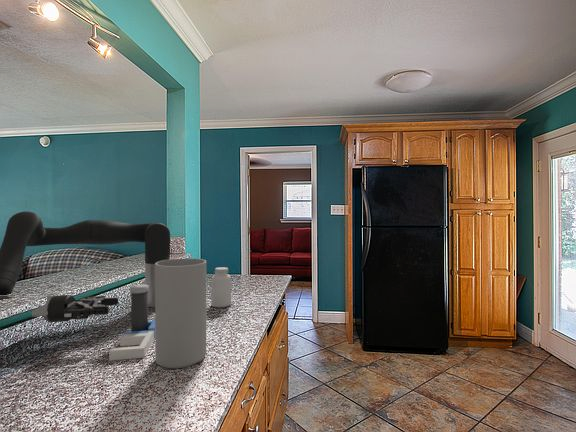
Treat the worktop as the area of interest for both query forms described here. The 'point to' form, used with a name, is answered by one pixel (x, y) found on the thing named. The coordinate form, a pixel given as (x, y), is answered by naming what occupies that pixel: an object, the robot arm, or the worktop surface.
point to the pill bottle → (221, 288)
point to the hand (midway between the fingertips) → (113, 305)
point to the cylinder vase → (180, 312)
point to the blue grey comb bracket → (134, 339)
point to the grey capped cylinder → (139, 307)
